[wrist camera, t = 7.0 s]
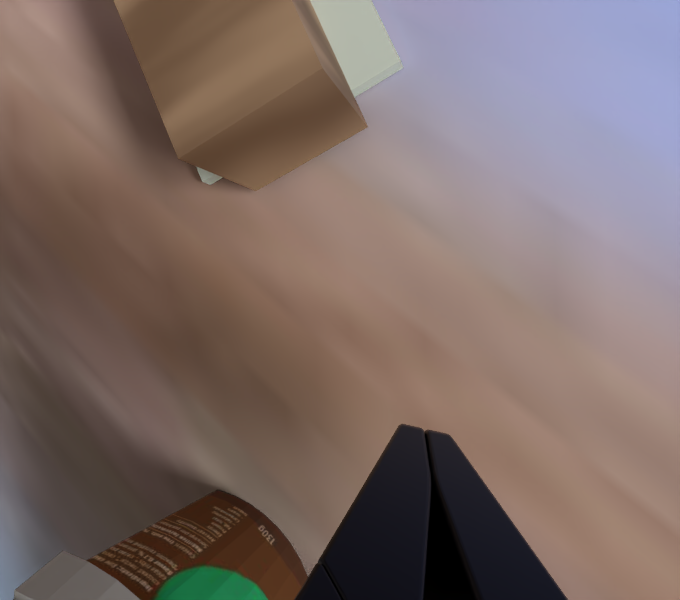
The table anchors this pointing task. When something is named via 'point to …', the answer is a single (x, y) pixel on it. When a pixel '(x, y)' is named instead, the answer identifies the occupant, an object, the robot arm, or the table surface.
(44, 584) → the food container
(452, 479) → the robot arm
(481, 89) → the table surface
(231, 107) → the walnut block
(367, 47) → the rubber mat
